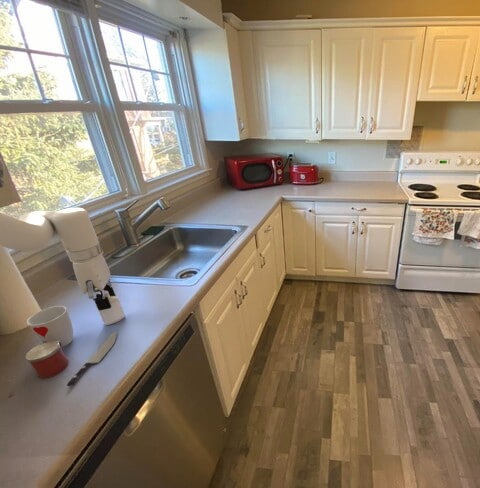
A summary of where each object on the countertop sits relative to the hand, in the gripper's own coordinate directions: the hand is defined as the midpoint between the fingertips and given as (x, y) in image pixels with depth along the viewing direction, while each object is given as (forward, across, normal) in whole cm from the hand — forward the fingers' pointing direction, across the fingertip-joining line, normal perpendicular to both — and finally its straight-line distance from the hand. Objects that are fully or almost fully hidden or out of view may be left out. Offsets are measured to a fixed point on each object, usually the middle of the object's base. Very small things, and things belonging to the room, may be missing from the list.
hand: (107, 303), depth 87 cm
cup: (+7, +5, -12) cm, 15 cm away
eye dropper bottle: (+7, 0, 0) cm, 7 cm away
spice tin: (+7, +16, -10) cm, 20 cm away
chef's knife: (+7, +16, 0) cm, 17 cm away
